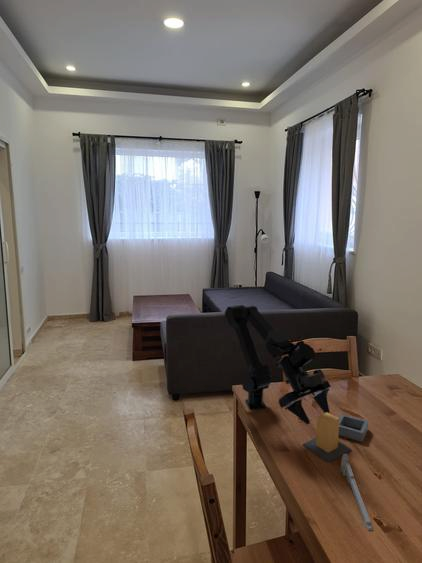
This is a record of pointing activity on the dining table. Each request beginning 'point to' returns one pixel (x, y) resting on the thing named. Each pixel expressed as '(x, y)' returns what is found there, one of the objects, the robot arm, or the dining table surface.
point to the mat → (327, 455)
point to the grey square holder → (354, 423)
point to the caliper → (355, 489)
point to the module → (327, 432)
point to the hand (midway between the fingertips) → (318, 419)
